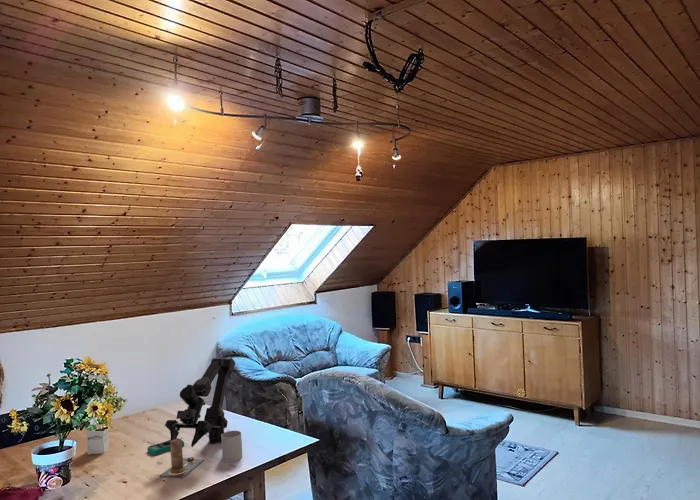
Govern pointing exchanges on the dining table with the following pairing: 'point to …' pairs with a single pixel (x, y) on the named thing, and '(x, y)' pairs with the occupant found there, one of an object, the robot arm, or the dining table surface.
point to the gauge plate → (189, 466)
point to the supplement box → (97, 441)
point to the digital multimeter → (161, 447)
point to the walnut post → (176, 457)
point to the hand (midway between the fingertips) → (181, 446)
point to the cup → (231, 446)
